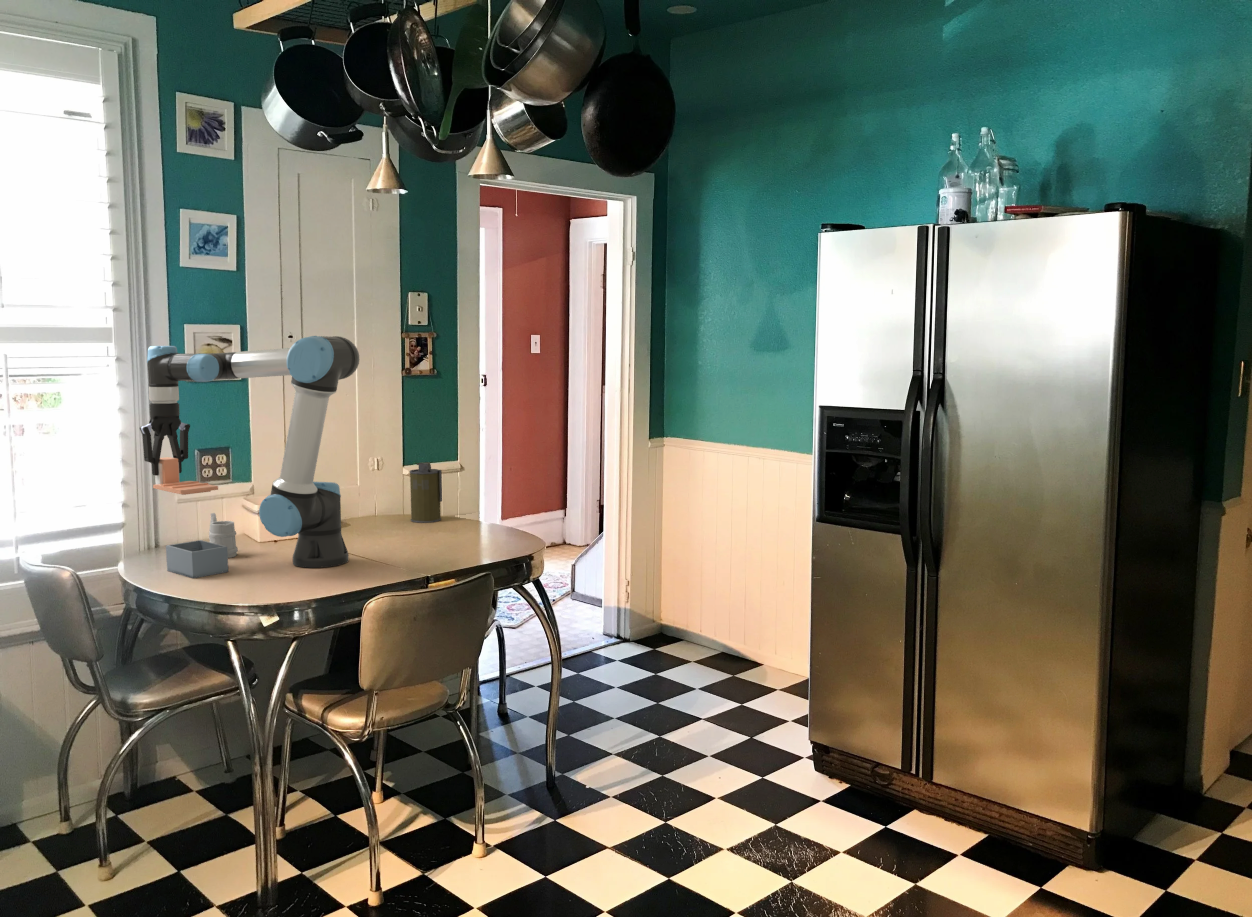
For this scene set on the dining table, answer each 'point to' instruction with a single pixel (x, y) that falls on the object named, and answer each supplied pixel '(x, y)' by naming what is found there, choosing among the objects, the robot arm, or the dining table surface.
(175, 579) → the dining table surface
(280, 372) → the robot arm
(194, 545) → the tub
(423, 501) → the canister
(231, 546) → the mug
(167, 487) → the lid
